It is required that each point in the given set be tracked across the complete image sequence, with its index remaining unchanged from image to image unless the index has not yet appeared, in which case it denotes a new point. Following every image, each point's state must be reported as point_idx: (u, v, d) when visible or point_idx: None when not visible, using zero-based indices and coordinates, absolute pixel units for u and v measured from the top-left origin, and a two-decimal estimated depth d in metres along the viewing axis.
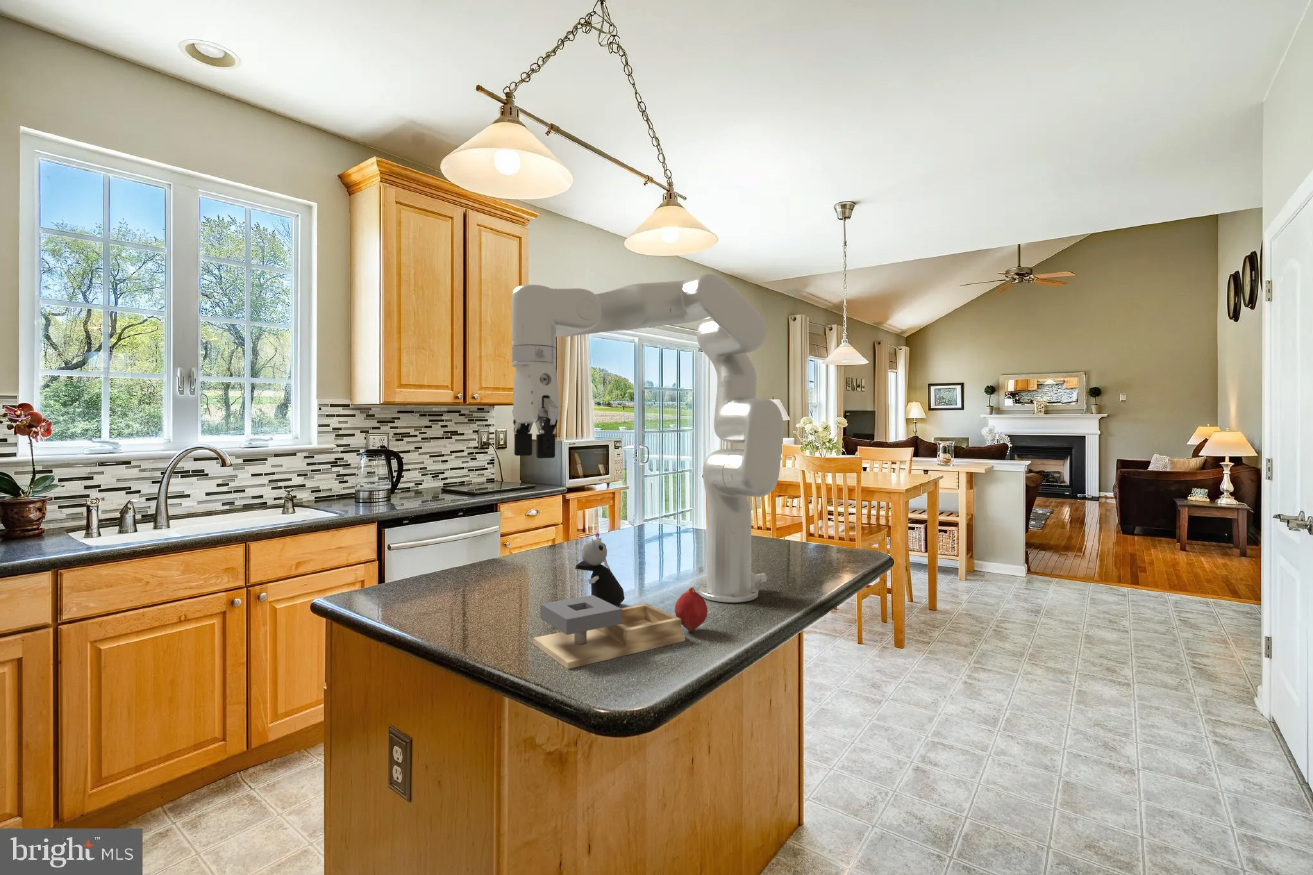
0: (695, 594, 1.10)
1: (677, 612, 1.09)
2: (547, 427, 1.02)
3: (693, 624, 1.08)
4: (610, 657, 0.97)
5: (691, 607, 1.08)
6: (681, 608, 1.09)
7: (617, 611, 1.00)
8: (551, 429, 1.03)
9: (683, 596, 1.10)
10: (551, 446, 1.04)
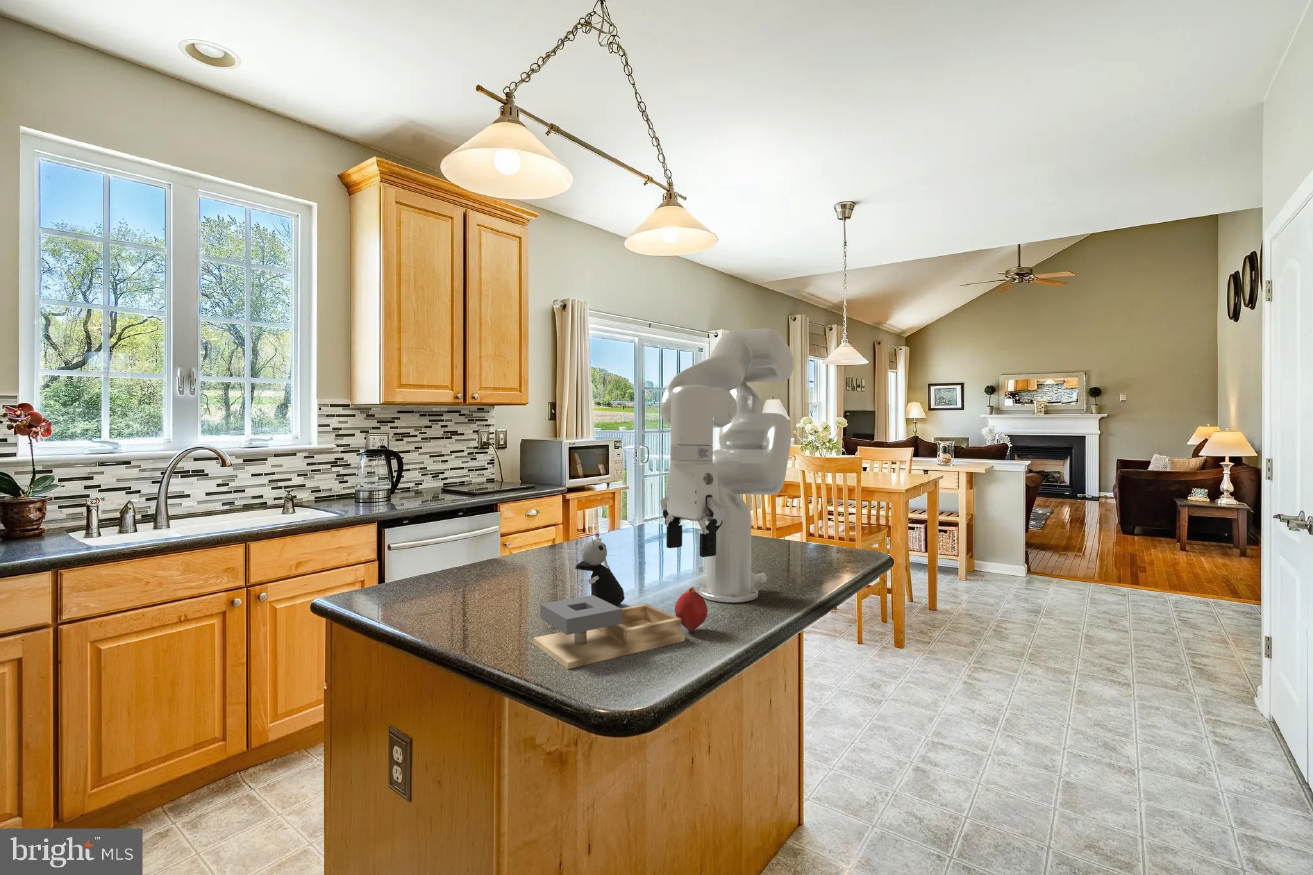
0: (695, 594, 1.10)
1: (677, 612, 1.09)
2: (713, 527, 1.04)
3: (693, 624, 1.08)
4: (610, 657, 0.97)
5: (691, 607, 1.08)
6: (681, 608, 1.09)
7: (617, 611, 1.00)
8: (715, 529, 1.05)
9: (683, 596, 1.10)
10: (714, 545, 1.06)
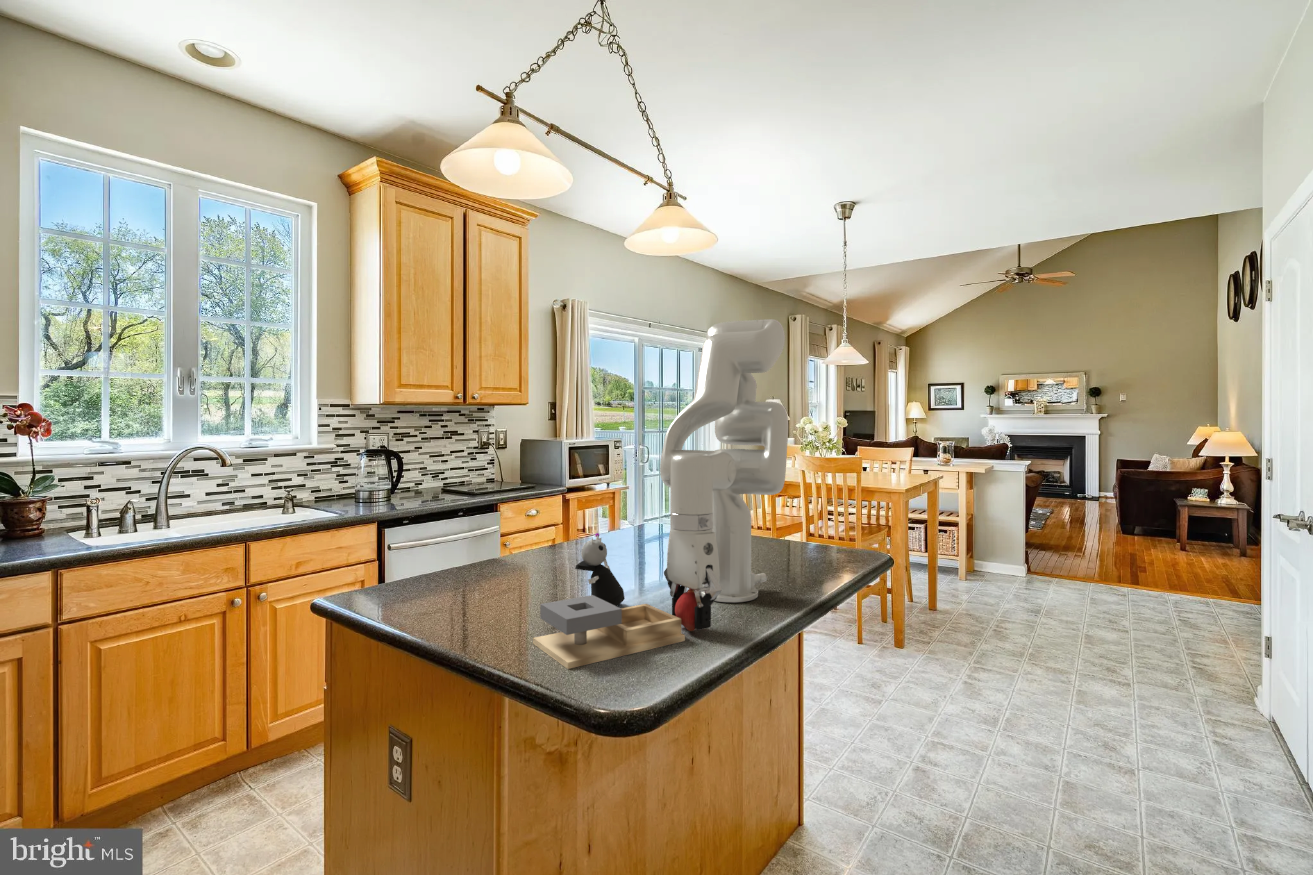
0: None
1: (677, 612, 1.09)
2: (707, 602, 1.06)
3: (693, 624, 1.08)
4: (610, 657, 0.97)
5: (691, 607, 1.08)
6: (681, 608, 1.09)
7: (617, 611, 1.00)
8: (710, 602, 1.07)
9: (683, 596, 1.10)
10: (709, 617, 1.07)
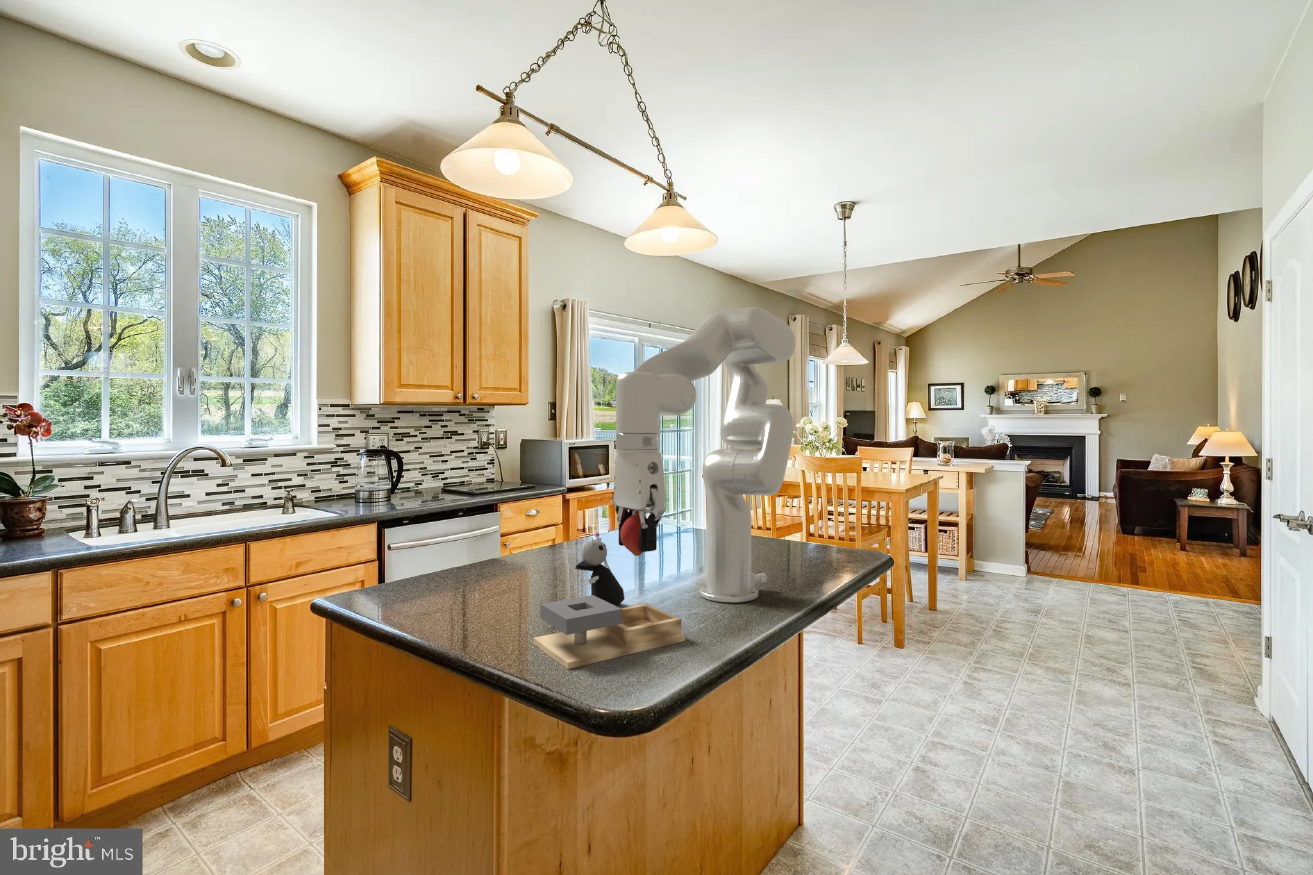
0: None
1: (622, 535, 1.06)
2: (651, 522, 1.03)
3: (638, 547, 1.05)
4: (610, 657, 0.97)
5: (635, 529, 1.05)
6: (626, 530, 1.05)
7: (617, 611, 1.00)
8: (655, 523, 1.03)
9: (628, 519, 1.07)
10: (654, 540, 1.04)
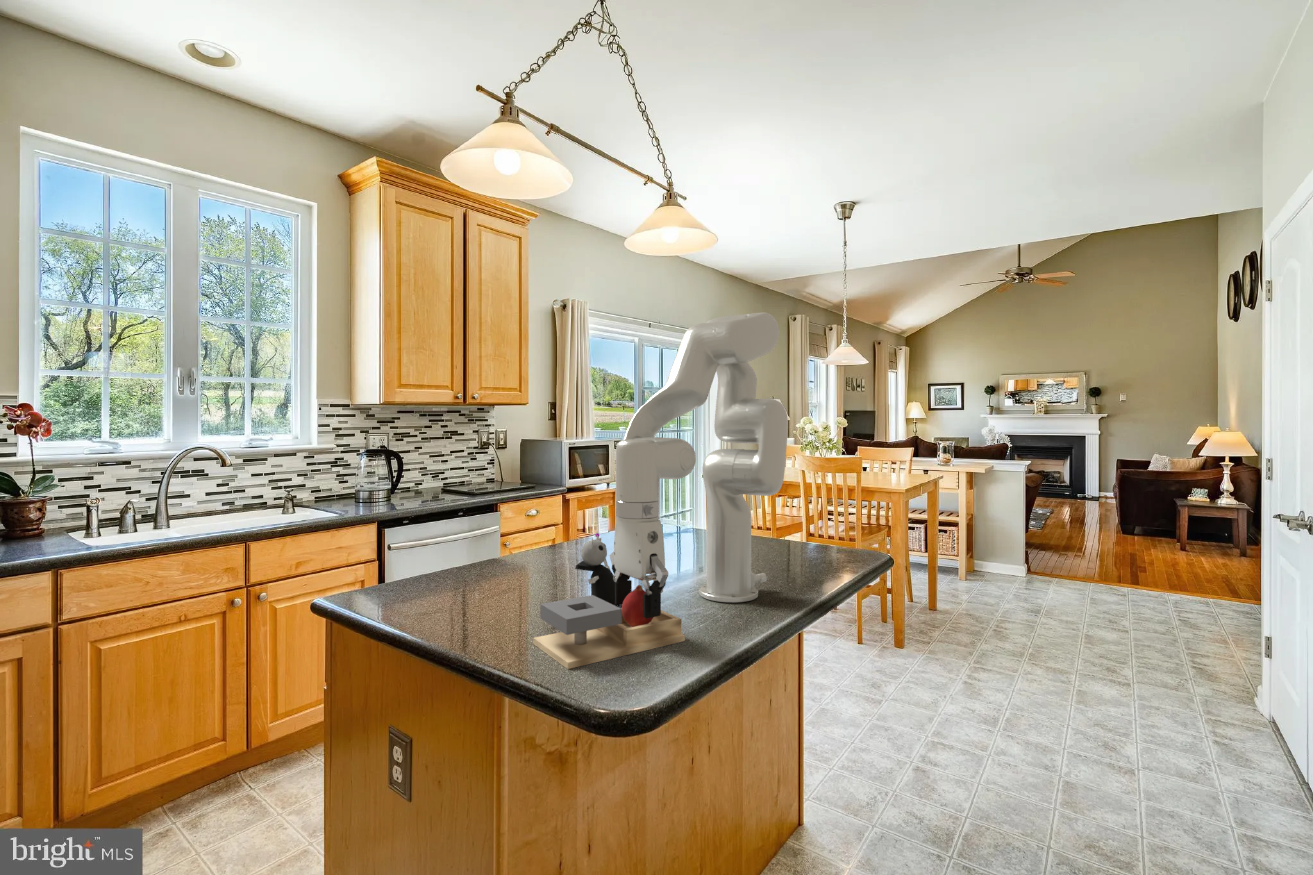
0: (642, 593, 1.07)
1: (623, 611, 1.06)
2: (656, 589, 1.02)
3: (639, 624, 1.06)
4: (610, 657, 0.97)
5: (637, 606, 1.05)
6: (627, 606, 1.06)
7: (617, 611, 1.00)
8: (659, 590, 1.03)
9: (630, 594, 1.07)
10: (658, 605, 1.03)
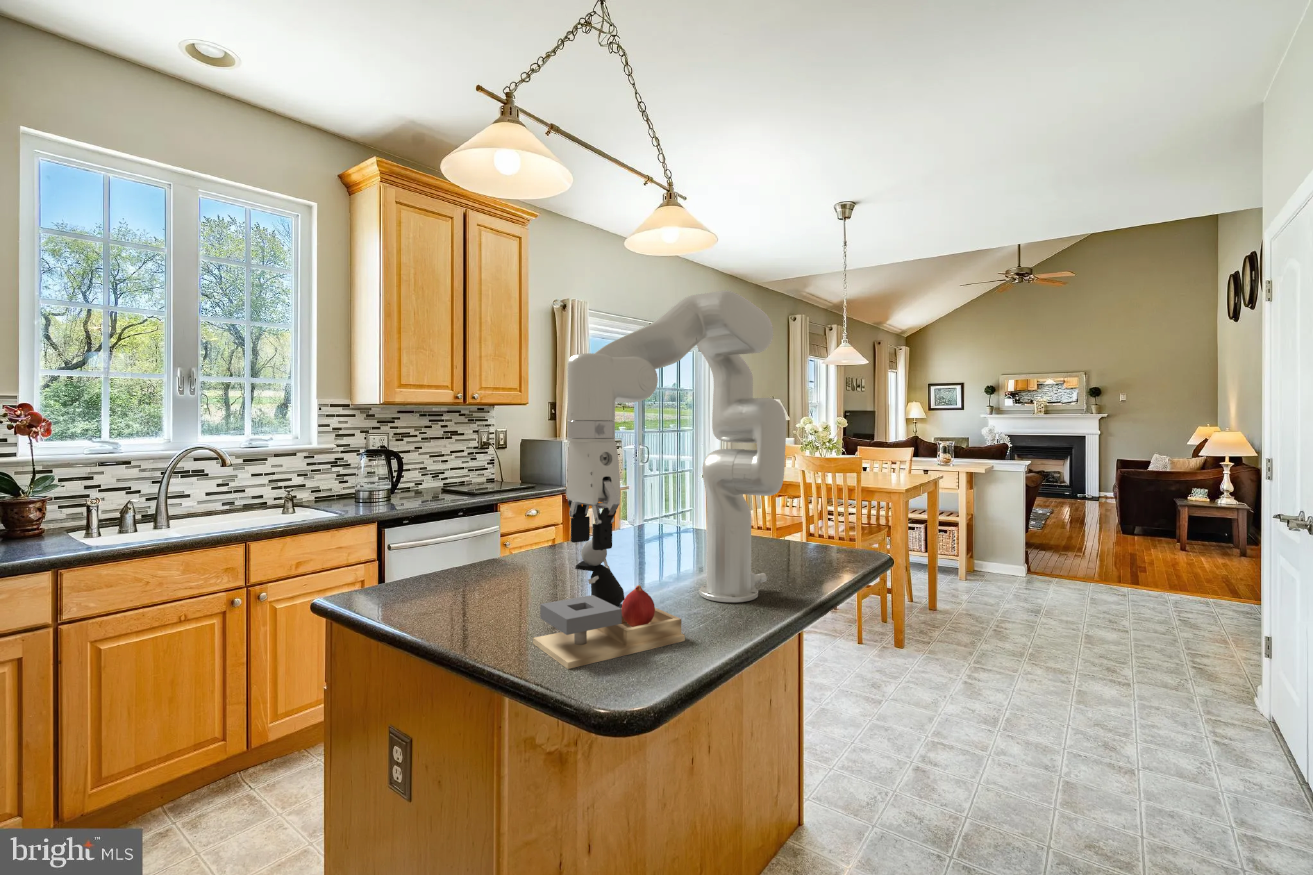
0: (642, 593, 1.07)
1: (623, 611, 1.06)
2: (605, 517, 0.93)
3: (639, 624, 1.06)
4: (610, 657, 0.97)
5: (636, 606, 1.05)
6: (627, 607, 1.06)
7: (617, 611, 1.00)
8: (609, 519, 0.94)
9: (629, 595, 1.07)
10: (608, 536, 0.95)
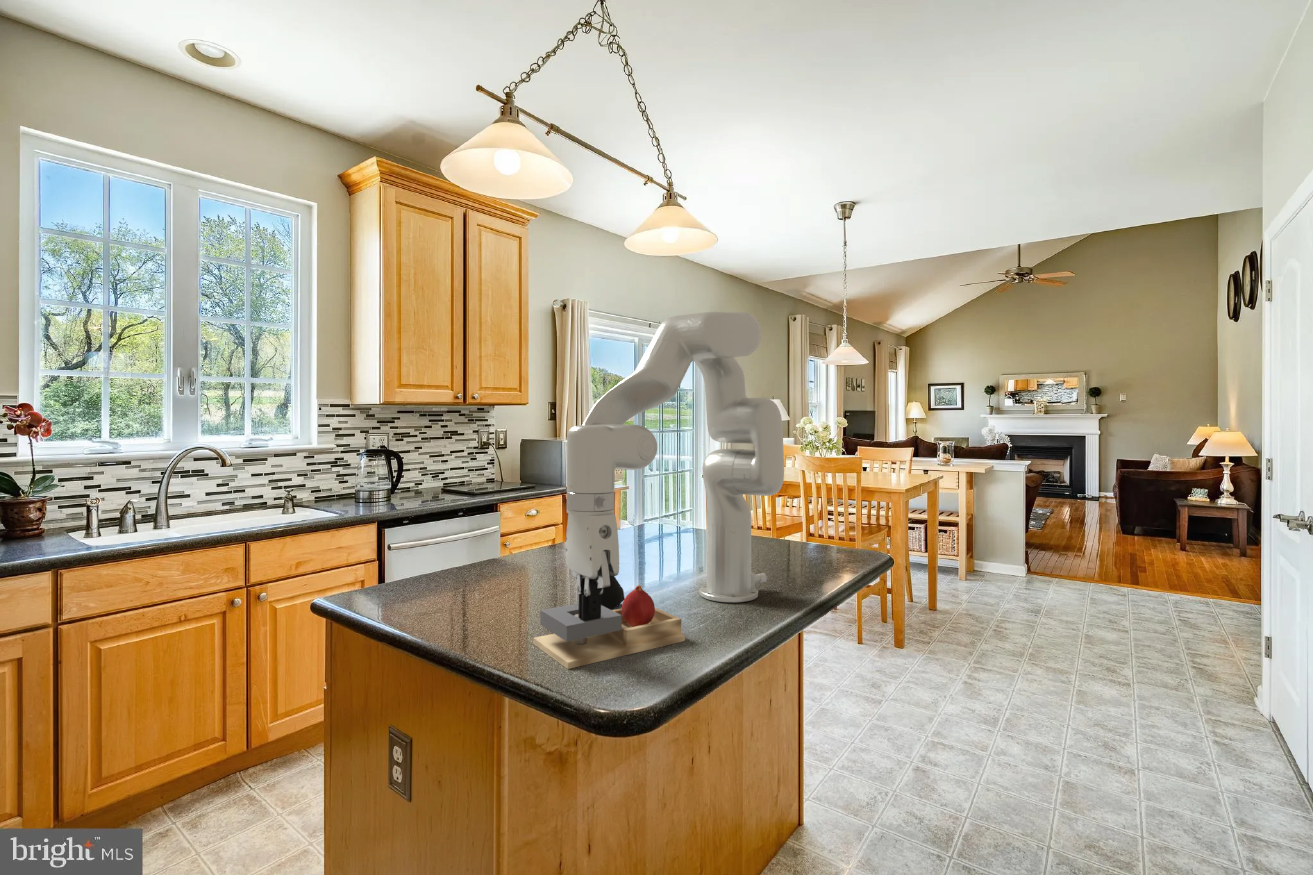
0: (642, 592, 1.07)
1: (623, 611, 1.06)
2: (594, 590, 0.96)
3: (639, 623, 1.06)
4: (610, 657, 0.97)
5: (636, 606, 1.05)
6: (627, 606, 1.06)
7: (617, 617, 1.00)
8: (598, 591, 0.97)
9: (629, 595, 1.07)
10: (597, 607, 0.98)
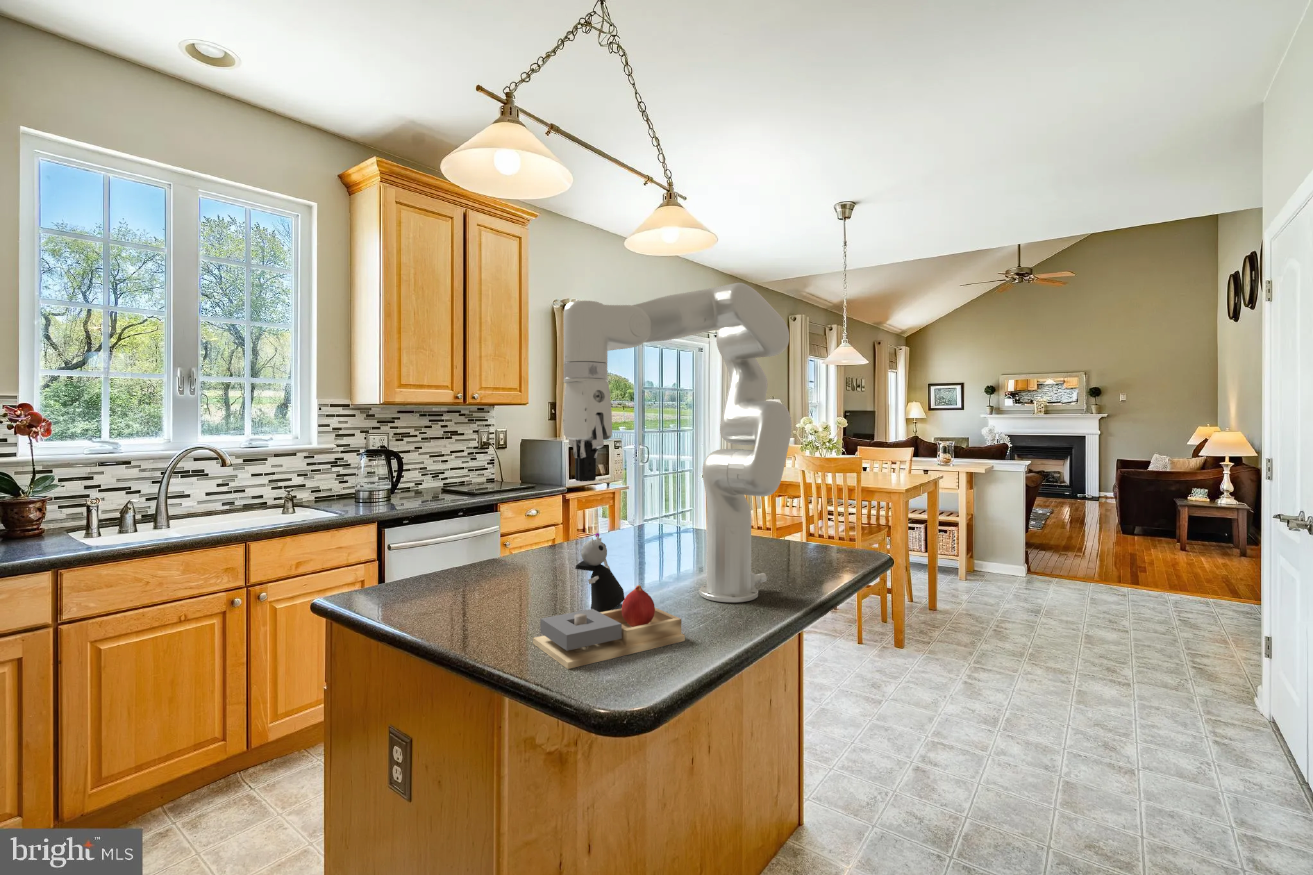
0: (642, 592, 1.07)
1: (623, 611, 1.06)
2: (589, 451, 1.05)
3: (639, 623, 1.06)
4: (610, 657, 0.97)
5: (636, 606, 1.05)
6: (627, 606, 1.06)
7: (617, 626, 1.00)
8: (593, 453, 1.05)
9: (629, 595, 1.07)
10: (592, 469, 1.06)
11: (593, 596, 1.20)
